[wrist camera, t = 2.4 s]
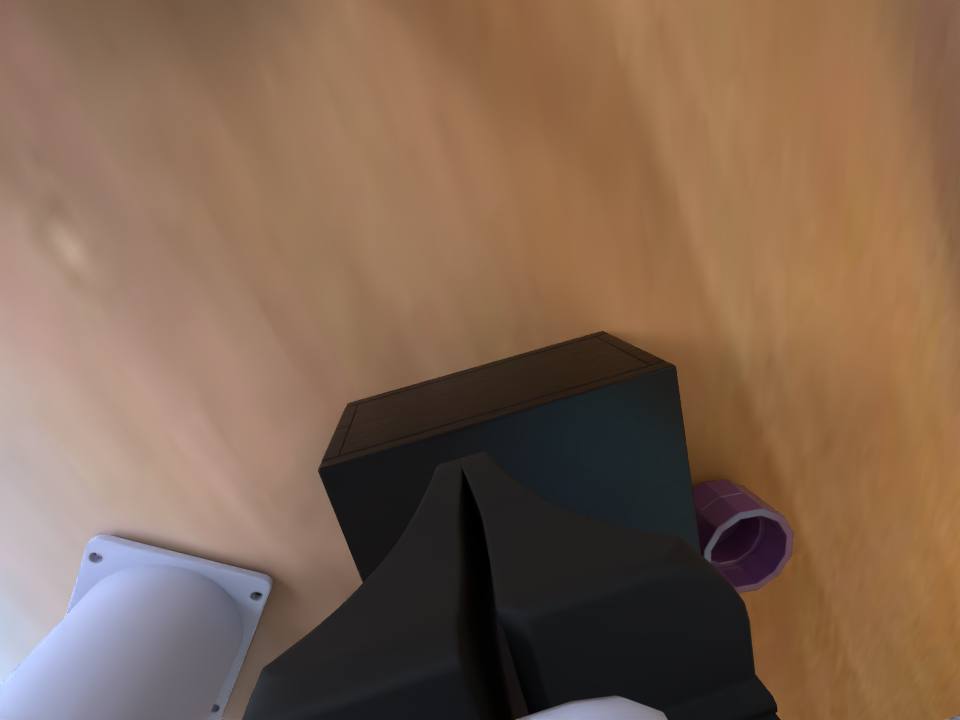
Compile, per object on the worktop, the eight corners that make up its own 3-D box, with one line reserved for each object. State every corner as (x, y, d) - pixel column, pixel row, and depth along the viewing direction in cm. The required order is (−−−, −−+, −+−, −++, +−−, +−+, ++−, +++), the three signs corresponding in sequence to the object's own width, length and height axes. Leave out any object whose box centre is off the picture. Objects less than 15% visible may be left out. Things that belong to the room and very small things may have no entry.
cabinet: (644, 558, 24) (716, 660, 19) (428, 627, 24) (431, 755, 18) (603, 330, 21) (676, 365, 15) (346, 402, 20) (316, 470, 14)
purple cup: (719, 559, 25) (761, 603, 22) (652, 537, 24) (686, 579, 21) (761, 490, 24) (811, 525, 21) (693, 464, 23) (735, 497, 20)
